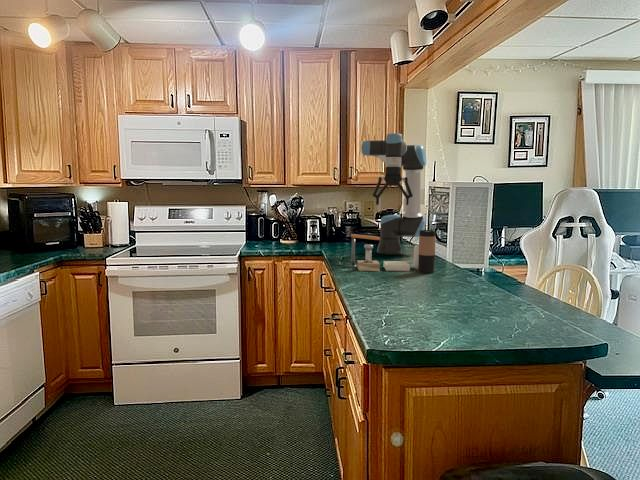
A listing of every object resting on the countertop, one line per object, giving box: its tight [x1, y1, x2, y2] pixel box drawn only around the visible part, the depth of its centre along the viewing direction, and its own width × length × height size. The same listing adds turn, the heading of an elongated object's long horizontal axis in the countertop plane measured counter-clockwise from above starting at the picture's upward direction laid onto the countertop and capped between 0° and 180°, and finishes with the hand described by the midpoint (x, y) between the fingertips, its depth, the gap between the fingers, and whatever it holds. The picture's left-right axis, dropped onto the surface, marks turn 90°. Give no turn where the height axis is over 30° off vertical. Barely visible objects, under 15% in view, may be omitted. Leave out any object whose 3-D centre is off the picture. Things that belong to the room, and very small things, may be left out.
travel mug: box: [417, 229, 437, 275], centre depth 226 cm, size 8×8×20 cm
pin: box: [363, 243, 374, 263], centre depth 233 cm, size 4×4×12 cm
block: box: [356, 259, 381, 272], centre depth 234 cm, size 10×10×4 cm
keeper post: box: [348, 237, 357, 268], centre depth 240 cm, size 4×4×15 cm
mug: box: [413, 244, 419, 270], centre depth 238 cm, size 12×9×11 cm
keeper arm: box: [350, 233, 380, 241], centre depth 234 cm, size 17×3×1 cm, turn 45°
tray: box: [382, 260, 411, 272], centre depth 235 cm, size 11×11×3 cm
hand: (391, 211), depth 230 cm, fingers open, 12 cm apart
